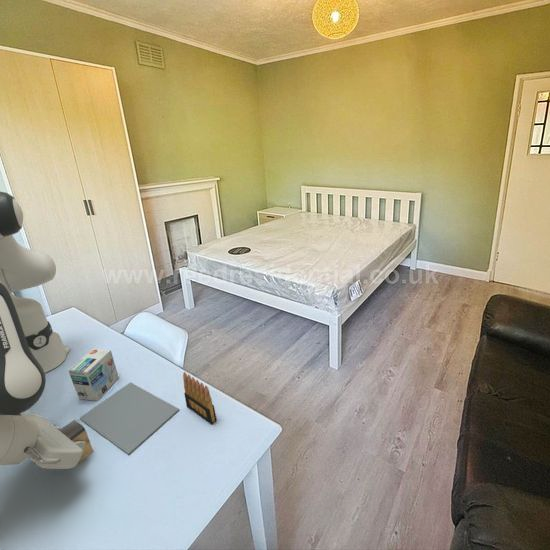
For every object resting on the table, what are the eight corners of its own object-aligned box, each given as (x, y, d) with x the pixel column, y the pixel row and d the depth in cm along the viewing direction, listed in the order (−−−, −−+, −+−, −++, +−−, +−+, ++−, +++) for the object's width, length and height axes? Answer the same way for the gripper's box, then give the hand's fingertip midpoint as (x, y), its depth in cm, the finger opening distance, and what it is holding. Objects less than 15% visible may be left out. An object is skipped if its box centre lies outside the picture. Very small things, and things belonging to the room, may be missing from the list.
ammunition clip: (217, 420, 87) (211, 384, 82) (211, 424, 85) (205, 389, 81) (191, 402, 93) (184, 368, 88) (186, 406, 92) (179, 372, 87)
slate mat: (79, 419, 90) (79, 417, 89) (130, 383, 102) (130, 382, 102) (128, 455, 78) (128, 453, 78) (179, 410, 91) (179, 409, 90)
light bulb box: (97, 402, 95) (87, 372, 91) (77, 399, 97) (66, 370, 93) (120, 377, 105) (111, 349, 101) (102, 375, 106) (92, 347, 102)
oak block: (65, 457, 79) (54, 433, 76) (83, 443, 82) (74, 419, 79) (75, 466, 77) (64, 441, 73) (93, 451, 80) (84, 427, 77)
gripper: (47, 446, 62) (108, 444, 74) (3, 406, 73) (62, 409, 84) (30, 481, 61) (94, 474, 72) (-13, 435, 71) (49, 435, 83)
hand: (76, 439), depth 78 cm, fingers closed on oak block, 4 cm apart
